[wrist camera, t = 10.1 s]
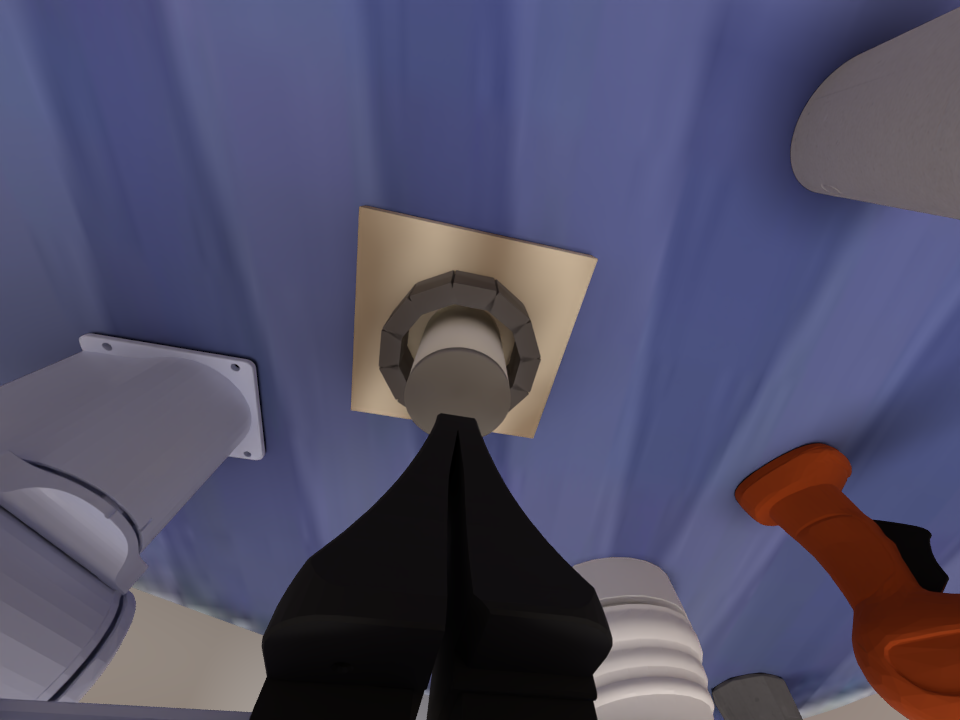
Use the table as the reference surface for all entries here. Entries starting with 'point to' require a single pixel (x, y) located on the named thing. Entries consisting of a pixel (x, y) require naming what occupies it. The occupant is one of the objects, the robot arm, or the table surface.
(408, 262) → the square plate with ring
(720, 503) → the table surface
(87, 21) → the table surface
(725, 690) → the coffeepot
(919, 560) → the toy drill
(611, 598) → the honey pot
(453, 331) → the grey cylinder
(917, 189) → the dixie cup
